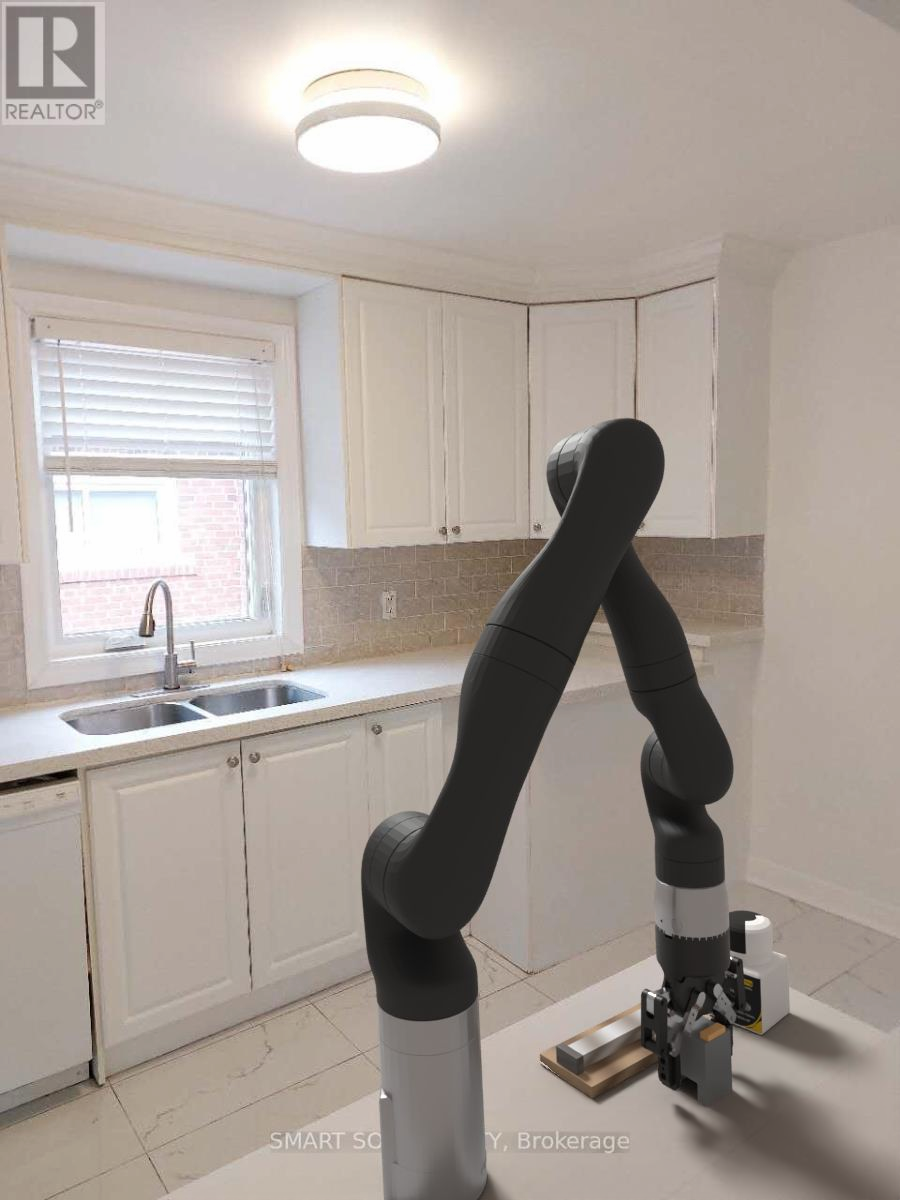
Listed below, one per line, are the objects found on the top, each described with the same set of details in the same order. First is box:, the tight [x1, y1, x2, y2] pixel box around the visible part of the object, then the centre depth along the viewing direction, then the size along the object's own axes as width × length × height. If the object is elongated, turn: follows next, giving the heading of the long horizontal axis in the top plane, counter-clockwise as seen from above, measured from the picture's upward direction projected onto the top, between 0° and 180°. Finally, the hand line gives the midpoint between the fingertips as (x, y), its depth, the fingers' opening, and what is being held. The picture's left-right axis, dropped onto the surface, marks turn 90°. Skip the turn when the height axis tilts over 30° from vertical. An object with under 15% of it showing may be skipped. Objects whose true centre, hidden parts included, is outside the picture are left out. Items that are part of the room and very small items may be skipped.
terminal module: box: [667, 1015, 733, 1107], centre depth 89 cm, size 4×6×7 cm
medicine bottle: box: [709, 910, 791, 1036], centre depth 103 cm, size 7×7×12 cm
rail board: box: [539, 1002, 711, 1099], centre depth 97 cm, size 20×8×3 cm, turn 126°
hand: (697, 1070), depth 89 cm, fingers open, 8 cm apart
